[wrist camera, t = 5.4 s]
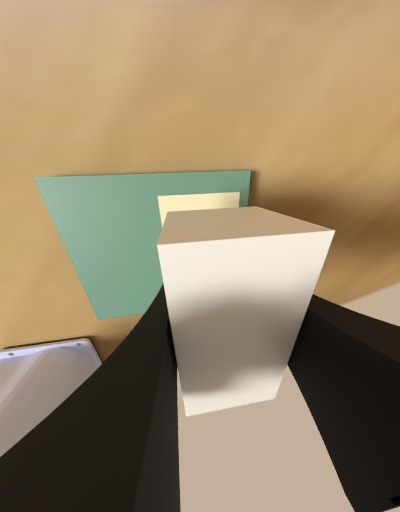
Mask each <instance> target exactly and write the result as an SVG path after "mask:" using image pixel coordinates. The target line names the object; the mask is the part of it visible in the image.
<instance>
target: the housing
mask: <svg viewBox="0 0 400 512" xmlns="http://www.w3.org/2000/svg"><path fill="white" fill-rule="evenodd" d="M334 233H335V230H333V229H329V228H326V227H323V226H320V225H316V224H313V223H310V222H306V221H303V220H300V219H296V218H293V217H290V216H287V215H283V214H280V213H277V212H273V211H270V210H267V209H263V208H260V207H257V206H253V207H237V208H220V209H203V210H187V211H170V212H167V215H166V218H165V221H164V224H163V227H162V231H161V234H160V237H159V240H158V243H157V248H158V254H159V260H160V266H161V272H162V278H163V283H164V289H165V295H166V301H167V307H168V313H169V319H170V324H171V330H172V336H173V342H174V348H175V354H176V359H177V365H178V371H179V377H180V382H181V388H182V394H183V400H184V406H185V412H186V416H191V415H196V414H201V413H206V412H211V411H216V410H221V409H226V408H231V407H235V406H240V405H245V404H250V403H255V402H260V401H265V400H270V399H275V396H276V394H277V391H278V388H279V385H280V382H281V380H282V377H283V374H284V372H285V369H286V366H287V363H288V360H289V358H290V355H291V352H292V349H293V347H294V344H295V341H296V338H297V336H298V333H299V330H300V327H301V324H302V322H303V319H304V316H305V313H306V311H307V308H308V305H309V302H310V300H311V297H312V294H313V291H314V289H315V286H316V283H317V280H318V277H319V275H320V272H321V269H322V266H323V264H324V261H325V258H326V255H327V253H328V250H329V247H330V244H331V241H332V239H333V236H334Z"/></svg>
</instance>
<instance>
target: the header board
mask: <svg viewBox="0 0 400 512" xmlns="http://www.w3.org/2000/svg"><path fill="white" fill-rule="evenodd" d="M250 175H251V170H241V171H212V172H182V173H152V174H122V175H92V176H62V177H33V179H34V181H35V183H36V185H37V187H38V190H39V192H40V194H41V196H42V198H43V201H44V203H45V205H46V207H47V209H48V211H49V214H50V216H51V218H52V220H53V222H54V225H55V227H56V229H57V231H58V233H59V236H60V238H61V240H62V242H63V244H64V247H65V249H66V251H67V253H68V255H69V258H70V260H71V262H72V264H73V266H74V268H75V271H76V273H77V275H78V277H79V279H80V282H81V284H82V286H83V288H84V290H85V293H86V295H87V297H88V299H89V301H90V304H91V306H92V308H93V310H94V312H95V315H96V317H97V319H98V320H99V319H106V318H114V317H122V316H130V315H137V314H144V313H145V312H146V311H147V309H148V308H149V306H150V305H151V303H152V302H153V300H154V298H155V297H156V295H157V293H158V292H159V290H160V288H161V286H162V284H163V278H162V272H161V266H160V260H159V254H158V248H157V243H158V240H159V237H160V234H161V231H162V227H163V224H164V221H165V218H166V215H167V212H170V211H187V210H203V209H220V208H237V207H248V196H249V186H250Z"/></svg>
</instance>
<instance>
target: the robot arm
mask: <svg viewBox="0 0 400 512" xmlns="http://www.w3.org/2000/svg"><path fill="white" fill-rule="evenodd" d="M287 364H288V366H289V368H290V370H291V372H292V374H293V376H294V378H295V380H296V382H297V384H298V386H299V389H300V391H301V393H302V395H303V397H304V399H305V401H306V403H307V405H308V408H309V410H310V412H311V414H312V416H313V419H314V421H315V423H316V425H317V427H318V430H319V432H320V434H321V437H322V439H323V441H324V444H325V446H326V448H327V451H328V453H329V456H330V458H331V460H332V462H333V465H334V467H335V470H336V472H337V475H338V477H339V480H340V482H341V485H342V487H343V489H344V492H345V494H346V496H347V498H348V500H349V502H350V503H351V505H352V507H353V509H354V511H355V512H384V511H387V510H390V509H393V508H397V507H400V326H396V325H393V324H390V323H387V322H384V321H381V320H378V319H375V318H372V317H369V316H366V315H363V314H360V313H357V312H355V311H352V310H350V309H347V308H344V307H342V306H339V305H337V304H334V303H332V302H329V301H327V300H325V299H322V298H320V297H318V296H316V295H313V294H312V297H311V300H310V302H309V305H308V308H307V311H306V313H305V316H304V319H303V322H302V324H301V327H300V330H299V333H298V336H297V338H296V341H295V344H294V347H293V349H292V352H291V355H290V358H289V360H288V363H287ZM177 411H178V409H177V359H176V354H175V348H174V342H173V336H172V330H171V324H170V319H169V313H168V307H167V301H166V295H165V289H164V283H163V284H162V286H161V288H160V290H159V292H158V293H157V295H156V297H155V298H154V300H153V302H152V303H151V305H150V306H149V308H148V309H147V311H146V312H145V313H144V315H143V316H142V318H141V319H140V320H139V322H138V323H137V324H136V326H135V327H134V328H133V330H132V331H131V332H130V333H129V334H128V336H127V337H126V338H125V339H124V340H123V342H122V343H121V344H120V345H119V346H118V347H117V348H116V349H115V350H114V352H113V353H112V354H111V355H110V356H109V357H108V358H107V359H106V360H105V361H104V362H103V363H102V362H101V360H100V358H99V356H98V354H97V352H96V351H95V349H94V347H93V345H92V343H91V341H90V340H89V339H88V338H82V339H75V340H68V341H61V342H53V343H46V344H39V345H32V346H25V347H18V348H11V349H3V350H0V512H180V486H179V485H180V484H179V451H178V413H177Z"/></svg>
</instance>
